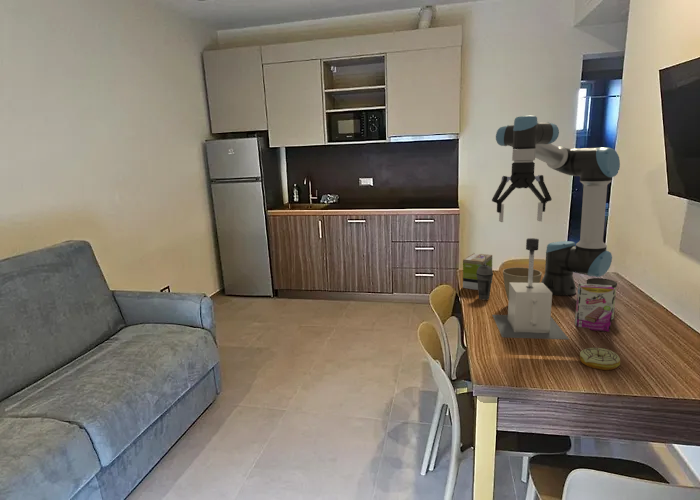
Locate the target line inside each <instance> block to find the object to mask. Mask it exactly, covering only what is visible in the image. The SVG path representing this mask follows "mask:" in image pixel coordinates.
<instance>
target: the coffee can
mask: <svg viewBox="0 0 700 500" xmlns="http://www.w3.org/2000/svg"><path fill="white" fill-rule="evenodd" d="M586 284H598V285H612V286H613V288H614V289H615V293H614V301H613V309H612V318H611V321H612V320H614V317H615V306H616V298H617V297H616V295H617V286H618V282H617V281H615V280H612V279H608V278H603V277H602V278H600V277H593V278H592V277H591V278H588V279H587V280H586Z"/></svg>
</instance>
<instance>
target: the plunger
mask: <svg viewBox="0 0 700 500" xmlns="http://www.w3.org/2000/svg"><path fill="white" fill-rule="evenodd" d="M539 242H540V240H539V238H531V237H530V238H526V242H525V243H526V244H525V250H527V251H529V254H528V268H529V270H528V288H532V284H533V269H534V264H535V251H538V250H539Z"/></svg>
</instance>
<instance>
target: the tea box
mask: <svg viewBox="0 0 700 500" xmlns="http://www.w3.org/2000/svg"><path fill="white" fill-rule="evenodd" d="M485 256H486V265H488V266H490V267H491V268H492V269H493V254H483V253H475V252H473V253H472V254H470V255H469V256H467V257H465V258H464V259H463V260H462V288H463V289H469V290H475V291H478V280H477V274H476V273H477V269H478V268H479V267H480V266H481V265H485ZM492 283H493V280H492V281H491V284H492Z"/></svg>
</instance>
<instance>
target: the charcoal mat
mask: <svg viewBox="0 0 700 500" xmlns="http://www.w3.org/2000/svg"><path fill="white" fill-rule="evenodd" d="M492 317H493V319H494V322H495V324H496V326H497V329H498V331H499V333H500V335H501V338H511V339H516V338H517V339H540V340H542V339H543V340H546V339H547V340H570V338H569V337H568V336H567V334H566V333H565V332H564V331H563V330H562V328H561V327H560V326H559V325H558V322H556V321H555V320H554V318H553V317H552V316H551V319H550V333H531V332H514V331H513V329H512V327H511V325H510V323H509V321H508V314H492Z"/></svg>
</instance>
